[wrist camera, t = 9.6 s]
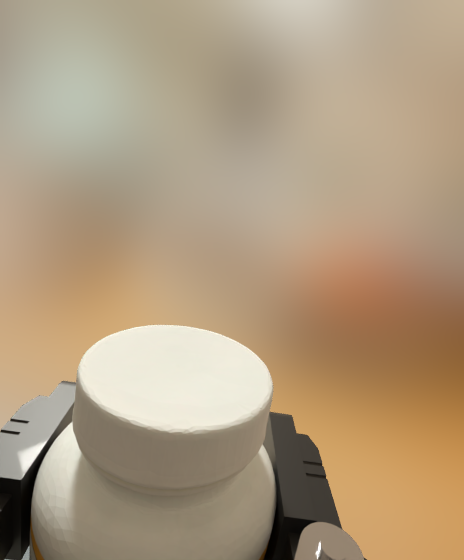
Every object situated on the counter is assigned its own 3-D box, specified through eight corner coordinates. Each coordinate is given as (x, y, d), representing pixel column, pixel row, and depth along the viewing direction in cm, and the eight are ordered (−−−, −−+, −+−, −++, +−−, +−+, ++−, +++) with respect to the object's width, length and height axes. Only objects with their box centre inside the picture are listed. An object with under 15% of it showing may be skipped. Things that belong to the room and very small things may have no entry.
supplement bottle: (-27, 727, 9) (-46, 380, 6) (116, 536, 14) (142, 296, 11) (170, 896, 7) (265, 528, 4) (252, 612, 12) (322, 353, 9)
